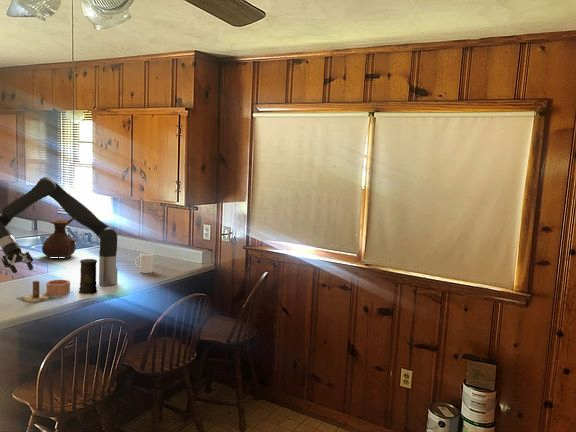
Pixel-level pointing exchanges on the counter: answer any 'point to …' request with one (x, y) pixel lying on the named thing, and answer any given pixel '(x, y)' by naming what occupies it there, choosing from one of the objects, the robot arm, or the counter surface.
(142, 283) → the counter surface
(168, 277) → the counter surface
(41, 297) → the lid
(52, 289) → the bowl
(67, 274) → the counter surface
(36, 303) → the mat
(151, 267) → the mug
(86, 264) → the container
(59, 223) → the brown vase
